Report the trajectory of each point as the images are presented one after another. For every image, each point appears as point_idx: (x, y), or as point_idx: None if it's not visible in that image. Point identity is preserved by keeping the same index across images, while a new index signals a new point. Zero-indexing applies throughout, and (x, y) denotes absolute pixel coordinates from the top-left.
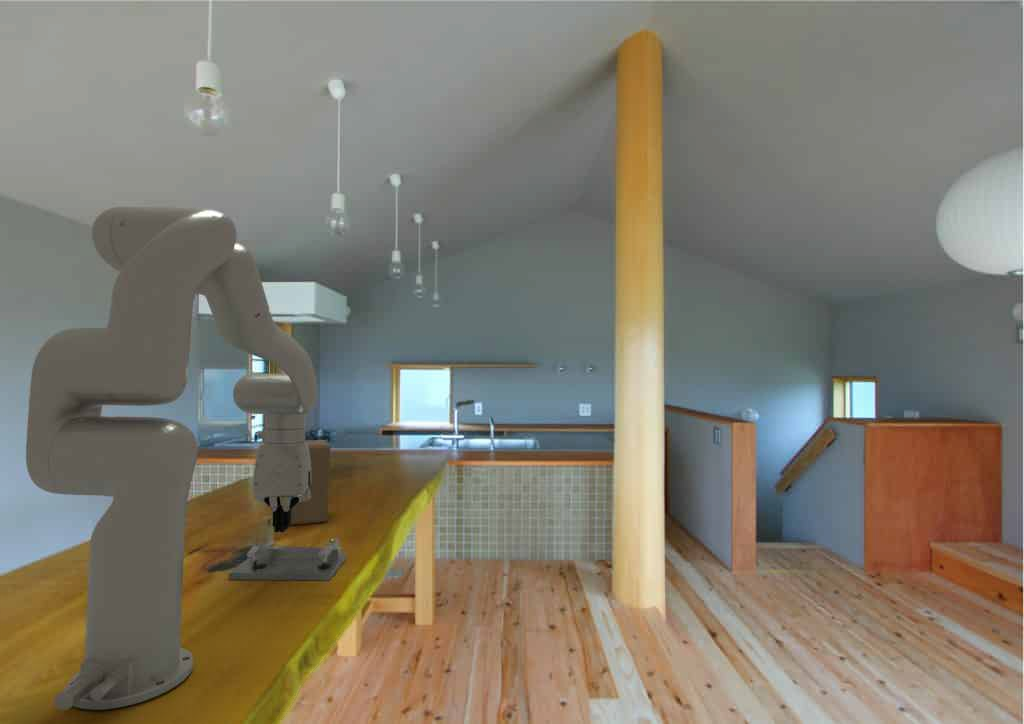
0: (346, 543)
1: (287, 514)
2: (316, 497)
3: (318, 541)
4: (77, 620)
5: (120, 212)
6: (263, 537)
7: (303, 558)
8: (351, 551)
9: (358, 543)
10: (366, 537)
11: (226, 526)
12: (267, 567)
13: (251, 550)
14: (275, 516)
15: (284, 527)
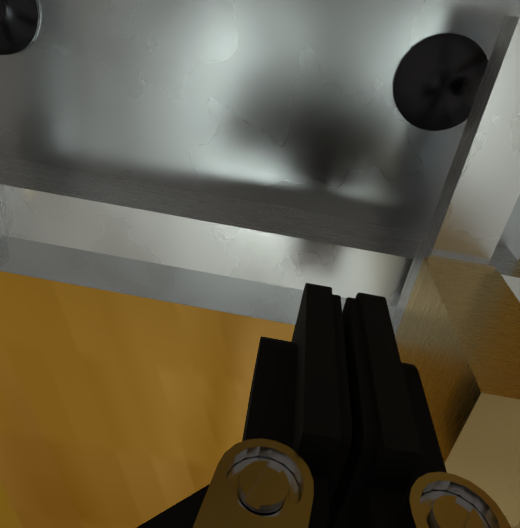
0: (70, 445)
1: (255, 425)
2: None
3: (201, 486)
4: None
5: None
6: (469, 286)
7: (176, 189)
8: (7, 346)
9: (17, 436)
10: (12, 493)
11: None
12: (381, 48)
13: None
14: (402, 400)
15: (296, 336)
